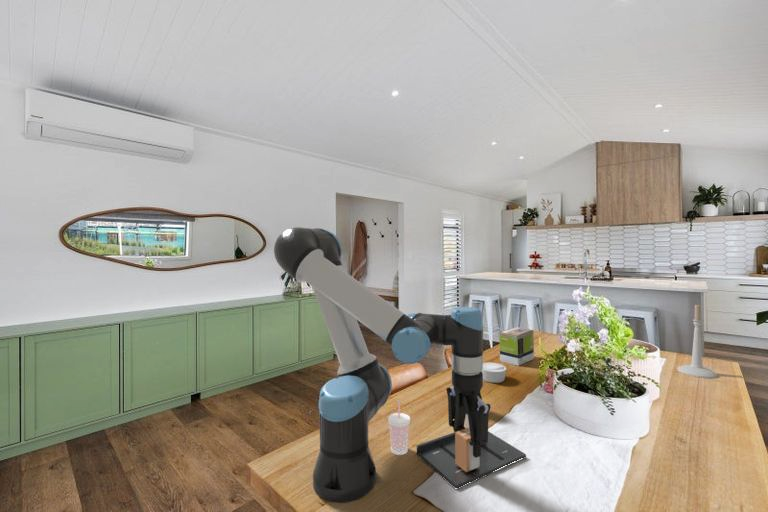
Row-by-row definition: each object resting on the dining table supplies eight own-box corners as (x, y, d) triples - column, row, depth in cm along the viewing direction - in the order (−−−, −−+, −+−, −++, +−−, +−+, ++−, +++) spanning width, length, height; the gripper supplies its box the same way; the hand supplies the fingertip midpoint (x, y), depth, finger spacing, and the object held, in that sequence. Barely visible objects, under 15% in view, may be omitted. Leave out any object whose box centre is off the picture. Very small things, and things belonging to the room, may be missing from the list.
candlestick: (724, 379, 145) (725, 307, 144) (686, 376, 149) (687, 305, 148) (706, 369, 157) (707, 302, 156) (671, 366, 161) (672, 301, 160)
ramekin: (503, 386, 140) (503, 373, 140) (475, 380, 146) (475, 368, 146) (509, 377, 150) (509, 365, 150) (483, 372, 156) (483, 360, 156)
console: (455, 489, 81) (455, 479, 81) (416, 454, 95) (416, 445, 95) (525, 458, 93) (525, 449, 93) (481, 430, 107) (481, 422, 107)
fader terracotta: (466, 472, 85) (466, 439, 85) (455, 463, 89) (455, 431, 88) (479, 466, 87) (479, 434, 87) (468, 458, 91) (468, 427, 91)
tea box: (515, 354, 180) (515, 326, 180) (534, 359, 172) (534, 329, 172) (499, 361, 170) (499, 330, 170) (518, 366, 163) (518, 334, 162)
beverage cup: (392, 442, 101) (392, 394, 101) (413, 446, 99) (412, 397, 99) (385, 453, 96) (384, 403, 95) (406, 458, 93) (406, 406, 93)
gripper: (504, 378, 82) (504, 477, 82) (455, 358, 97) (456, 441, 97) (481, 385, 78) (481, 488, 79) (433, 362, 93) (434, 449, 94)
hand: (467, 462), depth 88 cm, fingers closed on fader terracotta, 4 cm apart
